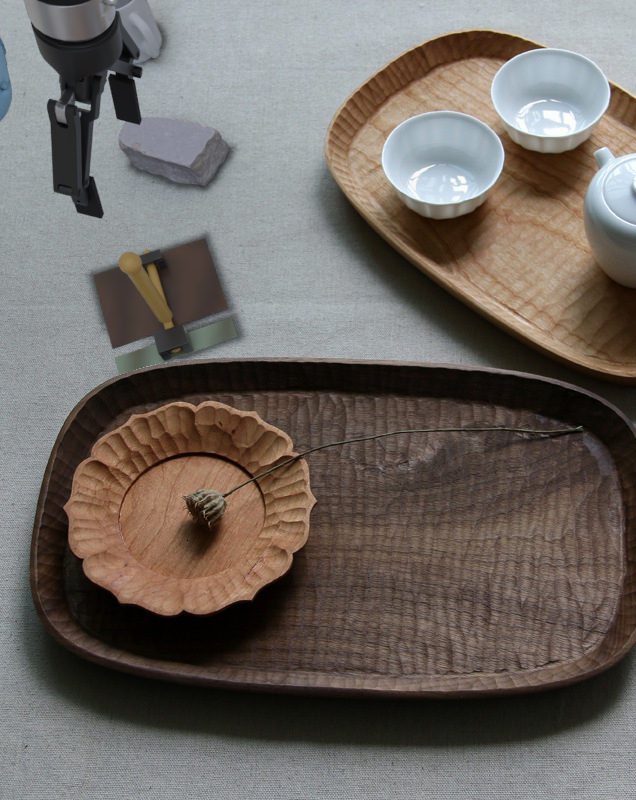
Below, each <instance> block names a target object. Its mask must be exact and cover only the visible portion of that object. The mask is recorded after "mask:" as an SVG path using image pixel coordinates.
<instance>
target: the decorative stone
mask: <svg viewBox="0 0 636 800" xmlns="http://www.w3.org/2000/svg"><path fill="white" fill-rule="evenodd" d="M141 119H142V121H141V123H140V125H137V124H133V123H130V122H126V121H124V123H123V125H122V127H121V129H120V133H119V134H118V135H119V136H118V146H119V149H120V150H121V152H123V153H124V154H125V156H126V157H127V159H128V160H129V162H130V163H131V164H132V165H133V167H135V168H137V169H139V170H142V171H147V172H148V173H150V174H152V175H158V176H162V177H164V178H166V179H168V180H169V181H171V182H174V183H179V184H186V185H199V186H201V187H204V188H206V187H207V186H208V185H209V183H210V181H212V180H213V179H214V177H215V176H216V174H217V172H218V171H219V169H220V167H221V166H222V164H224V163H225V160H226V159H227V157H228V155H229V153H230V145H229V144H228V142H227V141H226V140H225V139H223V138H222V137H223V136H222V134H221V132H220V131H219V130H217V129H216V128H214V127H212V126H209V125H205V124H203V125H202V124H200V123H198V122H194V121H191V120H182V119H178V118H170V117H159V116H141Z"/></svg>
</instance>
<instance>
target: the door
mask: <svg viewBox="0 0 636 800" xmlns="http://www.w3.org/2000/svg"><path fill="white" fill-rule="evenodd" d="M138 256H139V257H140V258H141V261H142V266H143V268H144V269H145V271H146V272H147V274H148V270H147V267H146V265H149V264H152V263H155V265H156V269H157V272H158V275H159V279H160V282H161V285H162V289H163V292H164V295H165V299H166V302H167V305H168V307H169V309H170V310H171V312H172V314H173V316H172V322H173V325H174V327H171V328H168V329H165V328H164V325H163V323H162V322H160V321H159V320H158V319H157V317H156V316H155V314H154V313H153V311H152V310H151V309H150V307H149V306H148V304H147V303H146V301H145V300H144V298H143V297H142V295H141V294H140V292H139V291H138V289H137V288H136V286H135V285H134V283H133V282H132V280H131V279H130V278H129V276H128V275H127V274H126V273H124V272H123V271H122V270H121V269H120V267H119V266H117V267H113V268H111V269H108V270H105V271H102V272H99V273H96V274H93V275H92V277H93V280H94V284H95V289H96V292H97V296H98V299H99V303H100V306H101V311H102V315H103V318H104V322H105V325H106V329H107V330H106V331H107V334H108V337H109V341H110V344H111V348H112V349H113V350H115V349H117V348H120V347H123V346H125V345H129V344H131V343H134V342H138V341H141V340H143V339H147V338H149V337H151V336H153V339H154V344H150V345H147V346H145V347H142V348H140V349H137V350H134V351H133V350H132V351H131V352H128V353H124V354H122V355H119V356H115V358H114V360H115V365H116V368H117V371H118V375H120V374H123V373H126V372H130V371H133V370H136V369H139V368H143V367H146V366H150V365H155V364H159V363H162V364H164V363H168V362H170V361H173V360H176V359H179V358H181V357H184V356H187V355H191V354H193V353H196V352H199V351H202V350H204V349H208V348H210V347H212V346H216V345H219V344H221V343H225V342H228V341H230V340H233V339H236V338H238V337H239V335H238V333H237V330H236V327H235V323H234V321H233V318H232V317H229V318H224V319H223V320H220V321H217V322H214V323H212V324H209V325H205V326H203V327H200V328H197V329H194V330H191V331H188V330H187V329H186V327H185V325H187V324H189V323H192V322H195V321H198V320H201V319H204V318H207V317H209V316H213V315H216V314H218V313H222V312H224V311H226V310H229V305H228V303H227V300H226V296H225V294H224V291H223V288H222V285H221V282H220V279H219V276H218V273H217V270H216V267H215V264H214V261H213V257H212V255H211V252H210V249H209V246H208V243H207V240H206V238H205V237H203V238H200V239H197V240H195V241H191V242H188V243H186V244H182V245H179V246H175V247H173V248H170V249H167V250H164V251H162V250H161V249H160V248H158V249H155V250H153V251H151V252H149V253H146V254H143V253H142V254H140V255H138ZM148 276H149V274H148ZM178 348H180V351H178V352H172V350H175V349H178ZM159 365H160V364H159Z"/></svg>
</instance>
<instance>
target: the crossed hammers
mask: <svg viewBox="0 0 636 800" xmlns="http://www.w3.org/2000/svg"><path fill="white" fill-rule="evenodd" d="M149 252H152V251H151V250H150V249H145V250H144V251H143V252H142V255H143V254H146V253H149ZM139 256H140V255H139V254H138V253H136V252H134V251H126V252H123V253H122V254H121V255H120V256H119V258H118V267H120V269H121V270H122V271H123V272H124V273H126V274H127V275H128V276H129V278H130V279H131V280H132V282H133V283H134V285H135V286H136V288H137V289H138V291H139V292H140V294H141V295H142V297H143V298H144V300H145V301H146V303H147V304H148V306H149V307H150V309H151V310H152V311H153V313H154V314H155V316H156V317H157V319H158V320H159V321H160V322H162V323H163V325H164V328H165V329H168V328H171V327H174V325H173V322H172V316H173V314H172V312H171V310H170V309H169V307H168V305H167V302H166V299H165V295H164V292H163V289H162V285H161V282H160V279H159V275H158V272H157V269H156V265H155V263H152V264H149V265H146V267H147V270H148V274H149V276H148V274H147V272H146V271H145V269H144V268H143V266H142V261H141V258H140V257H139ZM178 351H180V348H178V349H175V350H172V352H178Z"/></svg>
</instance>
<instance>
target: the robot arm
mask: <svg viewBox="0 0 636 800" xmlns="http://www.w3.org/2000/svg"><path fill="white" fill-rule="evenodd" d="M117 2H118V0H23V3H24V8H25V10H26V15H27V18H28V19H29V21H30V25H31V28H32V32H33V35H34V38H35V41H36V44H37V48H38V51H39V54H40V55H41V57H42V58H43V60H44V61H45V62H46V63H47V64H48V65H49V66H50V67H51V68H52V69H53V70H54V71H55V72H56V73H57V74H58V76H59V77H58V81H59V88H60V97H59V99H58V100H57V99H53V98H49V99H48V100H47V103H46V111H47V115H48V119H49V125H50V126H49V127H50V145H51V147H50V148H51V165H52V167H51V169H52V170H51V171H52V187H53V189H52V190H53V192H54V193H56V194H60V195H63V196H68V197H70V198H71V200H72V203H73V204H74V207H75V210H76V213H77V214H80V215H85V216H89V217H92V218H96V219H100V220H102V219H103V217H104V215H105V212H104V208H103V205H102V201H101V198H100V194H99V190H98V187H97V184H96V180H95V176H94V175H93V176H92V175H90V173H91V164H92V163H91V161H92V151H93V149H92V148H93V136H94V135H93V134H94V125H95V124H94V123H95V121H96V120H98V119H99V118H100V112H101V101H102V94H104V92H105V86H106V83H107V81H108V84H109V85H108V86H109V90H110V94H111V99H112V103H113V108H114V109H113V110H114V113H115V116H116V120H119V121H123V122H130V123H133V124H137V125H140V123H141V121H142V119H141V117H142V114H141V113H142V112H141V108H140V101H139V98H138V90H137V86H136V79H134V78H137V79H141V78H142V77H143V71H144V69H143V67H142V66H140V65H139V66H138V65H135V64H133V61H134V60H138V59H139V57H140V50H139V48H138V47H137V45H136V44H135V42H134V41H133V39H132V38H131V36H130V35H129V33H128V32H127V31H126V29H125V28H124V26H123V25H122V21H121V17H120V13H119V11H116V10H115V6H116V5H117ZM6 55H7V49H6V46H5V43H4V41H3V39H2V37H1V36H0V123H1V122H2V121H3V119H4V118H5V117H6V116H7V114H8V112H9V110H10V107H11V104H12V99H13V87H12V82H11V78H10V74H9V69H8V61H7V57H6ZM108 72H111V73H109V74H108ZM112 72H113V73H112ZM76 102H78V103H81V104H85V105H90V109H86V108H82V107H78V105H76Z"/></svg>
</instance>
